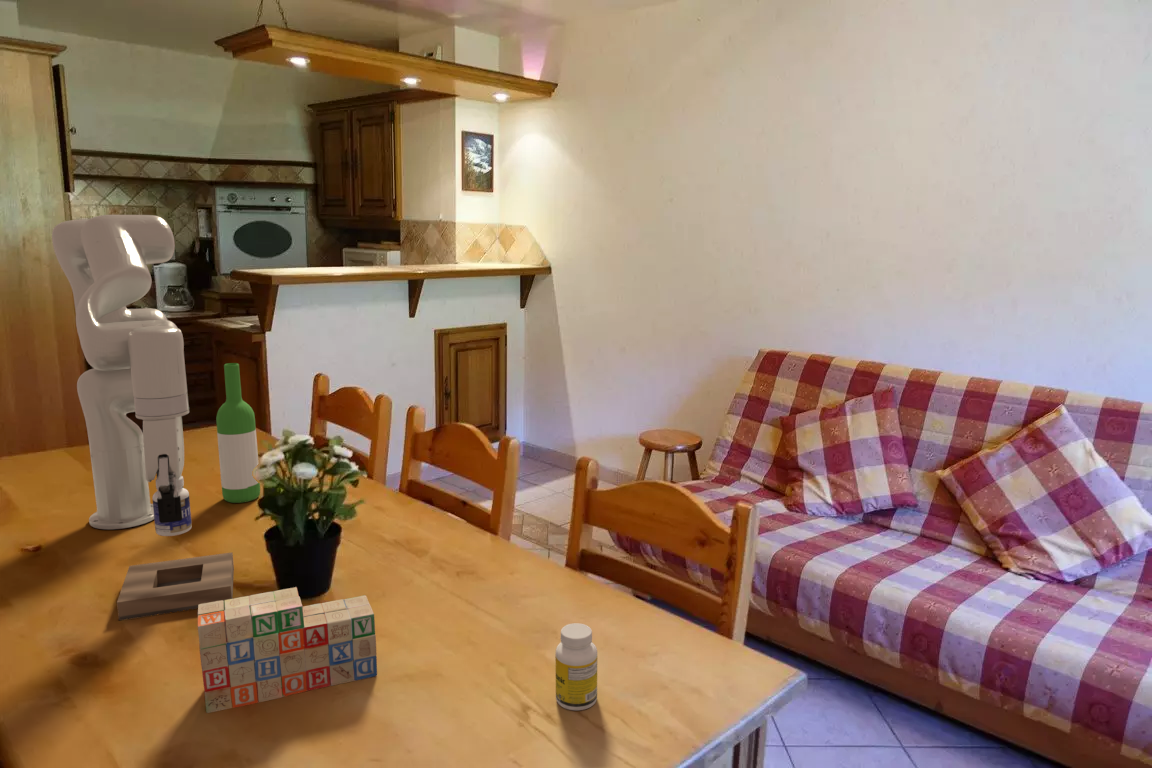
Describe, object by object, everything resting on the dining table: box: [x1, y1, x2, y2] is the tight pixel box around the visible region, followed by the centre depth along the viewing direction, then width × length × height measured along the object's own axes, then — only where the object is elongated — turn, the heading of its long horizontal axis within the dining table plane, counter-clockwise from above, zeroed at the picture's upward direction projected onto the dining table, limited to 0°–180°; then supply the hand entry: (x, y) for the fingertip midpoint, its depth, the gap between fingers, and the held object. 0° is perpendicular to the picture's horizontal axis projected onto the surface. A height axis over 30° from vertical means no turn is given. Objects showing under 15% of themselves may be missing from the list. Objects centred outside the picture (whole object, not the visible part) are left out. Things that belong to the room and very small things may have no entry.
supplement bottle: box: [555, 622, 598, 711], centre depth 103 cm, size 5×5×10 cm
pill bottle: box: [152, 475, 193, 537], centre depth 129 cm, size 5×5×9 cm
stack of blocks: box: [197, 586, 378, 714], centre depth 106 cm, size 21×6×12 cm, turn 114°
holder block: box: [116, 552, 235, 621], centre depth 132 cm, size 14×16×3 cm
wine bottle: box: [215, 362, 261, 504], centre depth 174 cm, size 8×8×30 cm
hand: (172, 513), depth 130 cm, fingers closed on pill bottle, 5 cm apart
